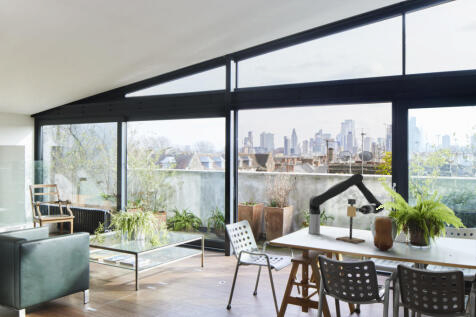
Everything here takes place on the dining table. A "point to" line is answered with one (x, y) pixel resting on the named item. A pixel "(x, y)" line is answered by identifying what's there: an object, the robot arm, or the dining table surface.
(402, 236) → the cable organizer
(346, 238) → the stand
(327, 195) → the robot arm
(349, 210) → the sleeve
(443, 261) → the dining table surface
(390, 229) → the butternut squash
